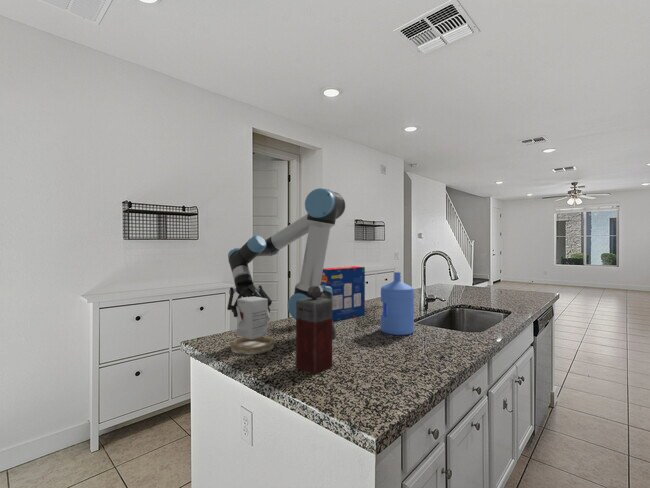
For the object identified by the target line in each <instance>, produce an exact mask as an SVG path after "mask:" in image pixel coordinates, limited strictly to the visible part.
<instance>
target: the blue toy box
mask: <svg viewBox="0 0 650 488" xmlns="http://www.w3.org/2000/svg"><path fill="white" fill-rule="evenodd" d="M365 273H366V269H365V266H356V265H355V266H354V265H353V266H352V265H351V266H340V267H325V268H324V267H323V272H322V278H321V284H320V286H330V287H331V288H332V293H333V295H332V320H333V323H335V322H340V320H341V321H344V320H350V319H354V318H359V317H363V316H366V311H365V310H366V306H365V305H366V304H365V303H366V302H365V301H366V299H365V297H366V296H365V295H366V289H365V287H366V280H365V279H366V274H365Z"/></svg>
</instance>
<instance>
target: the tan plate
mask: <svg viewBox="0 0 650 488" xmlns="http://www.w3.org/2000/svg"><path fill="white" fill-rule="evenodd" d="M229 343H230V351H231V352H233V353H235V354H238V355H257V354H262V353H267V352H269V351H271V350H273V349H274V347H275V340H274V338H273V337H271V336H270V337H269V336H268V335H264V336H261V337H258V338H254V339H248V338H245V337H241V336H239V337H237V338H234V339H233V340H232V341H230V342H229Z"/></svg>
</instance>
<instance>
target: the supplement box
mask: <svg viewBox="0 0 650 488" xmlns="http://www.w3.org/2000/svg"><path fill="white" fill-rule="evenodd" d="M236 300H237V307H238V308H239V312H240V316H241V319H242V322H241V325H238V321H236V329H237V331H236V332H237V333H236V335H237V336H238V337H245V338H248V339H254V338H258V337H261V336H268V322H269V321H268V299H267V298H261V297H254V296H252V297H244V298H243V297H242V298H240V299H237V298H236Z"/></svg>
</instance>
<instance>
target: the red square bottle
mask: <svg viewBox="0 0 650 488" xmlns="http://www.w3.org/2000/svg"><path fill="white" fill-rule="evenodd" d="M320 293H321V290H320V288H319V287H318V286H310V287H309V289H308V296H309V297H310V298H304V299H299V300H297V301H296V319H295V334H296V335H295V368H296V369H298V370H301V371H304V372H306V373H309V374H312V375H318V374H320V373H321V372H325V371H327V370H329V369H332V368H333V339H332V300H330V299H325V298H319V296H320Z"/></svg>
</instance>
